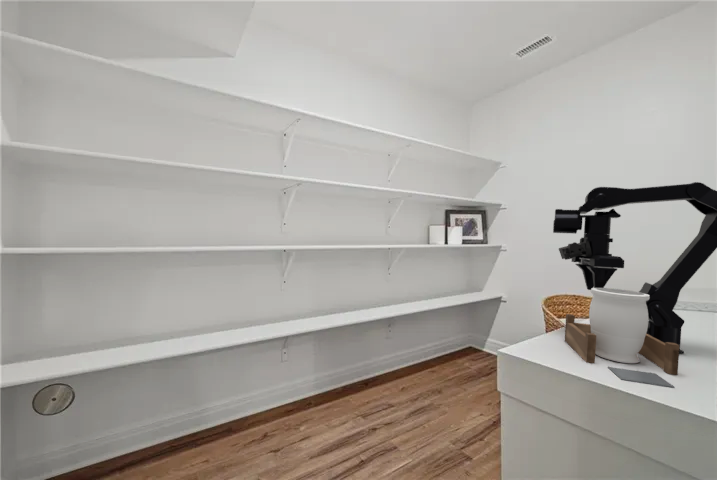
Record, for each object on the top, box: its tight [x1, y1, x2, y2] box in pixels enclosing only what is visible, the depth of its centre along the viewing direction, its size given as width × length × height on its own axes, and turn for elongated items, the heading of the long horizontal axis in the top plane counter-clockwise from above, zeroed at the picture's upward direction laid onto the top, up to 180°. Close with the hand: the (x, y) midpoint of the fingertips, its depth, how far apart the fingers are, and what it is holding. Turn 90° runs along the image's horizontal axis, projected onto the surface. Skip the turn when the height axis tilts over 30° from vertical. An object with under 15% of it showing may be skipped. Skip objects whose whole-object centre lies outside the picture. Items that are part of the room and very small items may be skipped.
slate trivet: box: [607, 366, 676, 389], centre depth 62 cm, size 8×6×1 cm
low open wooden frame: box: [564, 313, 680, 376], centre depth 73 cm, size 16×15×7 cm
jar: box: [588, 287, 650, 364], centre depth 73 cm, size 11×10×15 cm
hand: (593, 291), depth 88 cm, fingers open, 5 cm apart
